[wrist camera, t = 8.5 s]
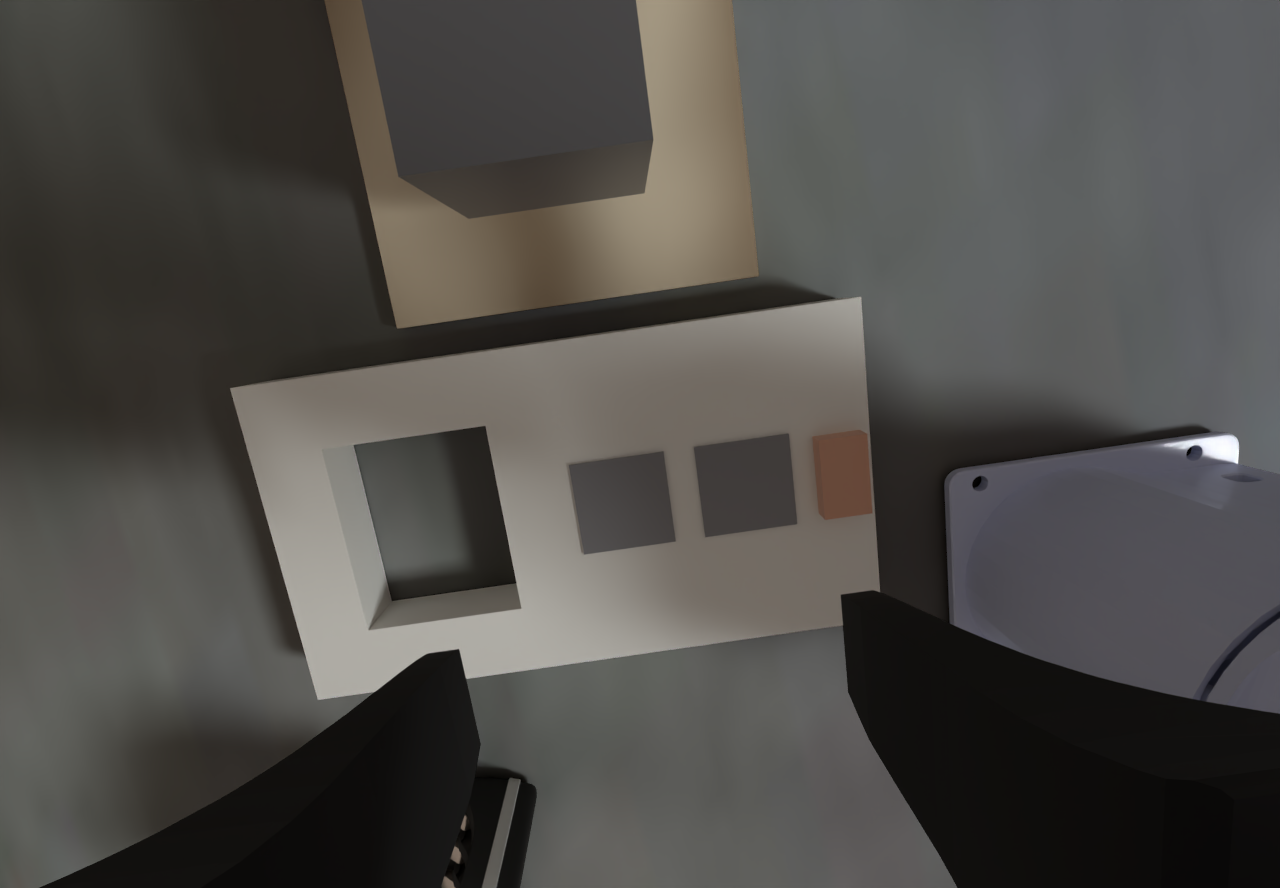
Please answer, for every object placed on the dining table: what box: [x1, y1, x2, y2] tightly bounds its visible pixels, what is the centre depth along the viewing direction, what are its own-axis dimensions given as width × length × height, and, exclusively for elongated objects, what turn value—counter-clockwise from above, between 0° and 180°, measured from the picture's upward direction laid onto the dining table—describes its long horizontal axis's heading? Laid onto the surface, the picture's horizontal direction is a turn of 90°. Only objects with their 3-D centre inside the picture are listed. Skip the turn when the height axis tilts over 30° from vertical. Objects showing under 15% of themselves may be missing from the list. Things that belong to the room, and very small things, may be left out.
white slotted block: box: [230, 297, 880, 700], centre depth 19 cm, size 18×10×3 cm, turn 98°
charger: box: [362, 0, 654, 219], centre depth 14 cm, size 4×6×8 cm
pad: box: [324, 0, 759, 329], centre depth 18 cm, size 11×11×1 cm
